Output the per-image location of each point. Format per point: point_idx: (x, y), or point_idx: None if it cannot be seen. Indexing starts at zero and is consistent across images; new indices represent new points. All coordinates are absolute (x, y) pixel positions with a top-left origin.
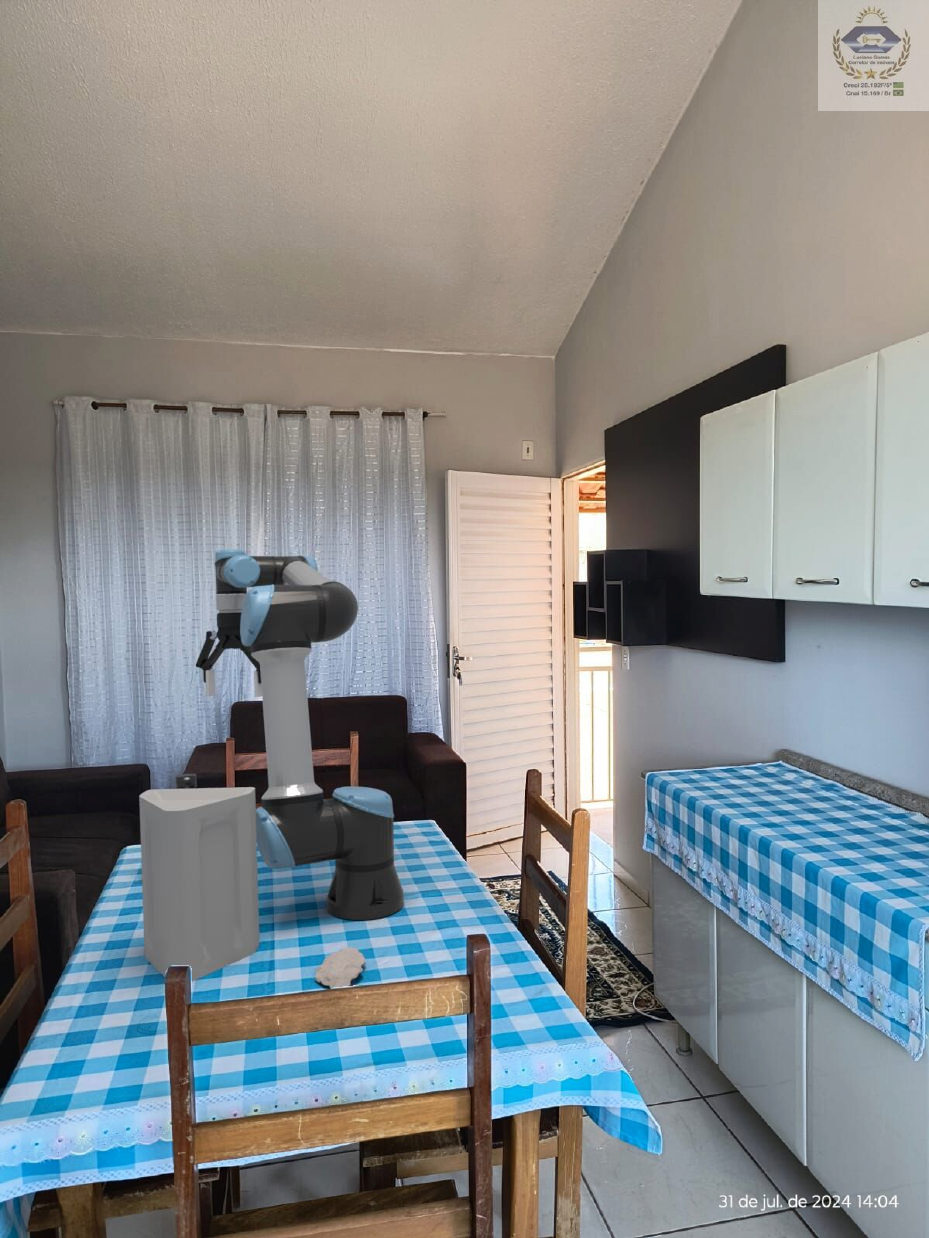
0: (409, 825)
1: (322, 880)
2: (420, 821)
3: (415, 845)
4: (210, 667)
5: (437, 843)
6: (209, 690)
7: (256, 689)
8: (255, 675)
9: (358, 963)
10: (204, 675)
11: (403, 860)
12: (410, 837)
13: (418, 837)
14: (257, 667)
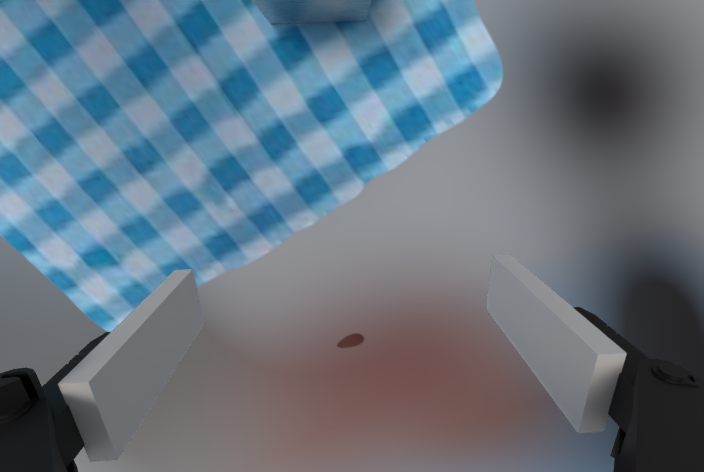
0: (117, 310)
1: (59, 2)
2: None
3: (39, 221)
4: (624, 433)
5: (13, 239)
6: (506, 274)
7: (156, 292)
8: (100, 353)
9: None
10: (614, 339)
11: (4, 144)
12: (75, 256)
13: (63, 259)
14: (20, 417)
